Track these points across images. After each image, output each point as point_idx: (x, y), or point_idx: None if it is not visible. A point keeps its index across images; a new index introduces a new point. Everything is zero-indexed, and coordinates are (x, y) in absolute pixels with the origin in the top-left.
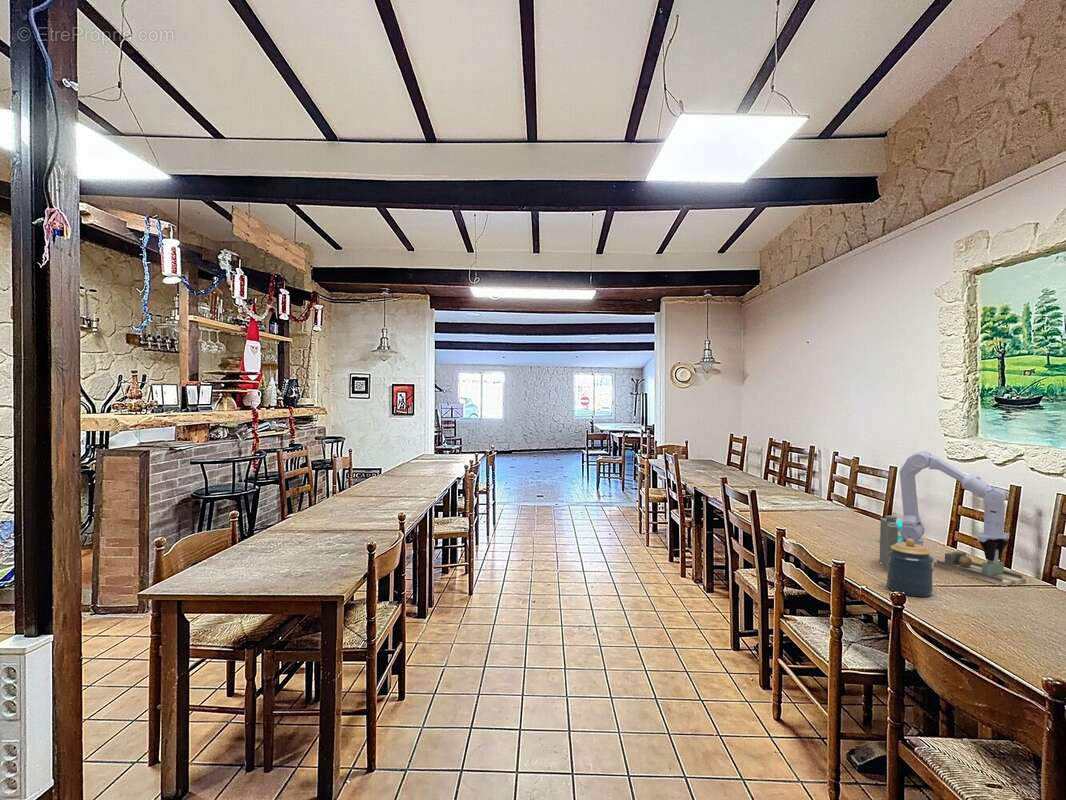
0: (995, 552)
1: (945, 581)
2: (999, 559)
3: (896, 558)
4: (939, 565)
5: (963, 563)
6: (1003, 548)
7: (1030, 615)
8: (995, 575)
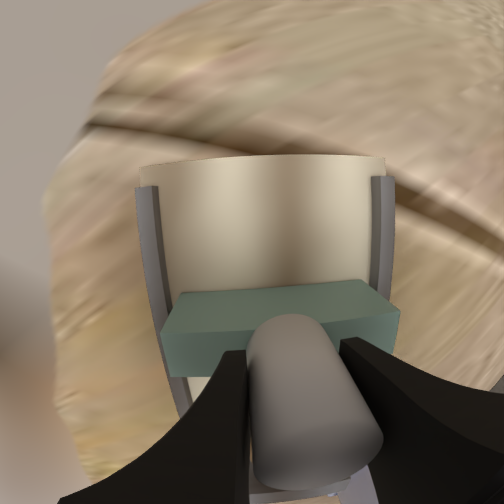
0: (355, 399)
1: (494, 300)
2: (232, 352)
3: None
4: None
5: None
6: (184, 445)
7: (497, 21)
8: (280, 282)
